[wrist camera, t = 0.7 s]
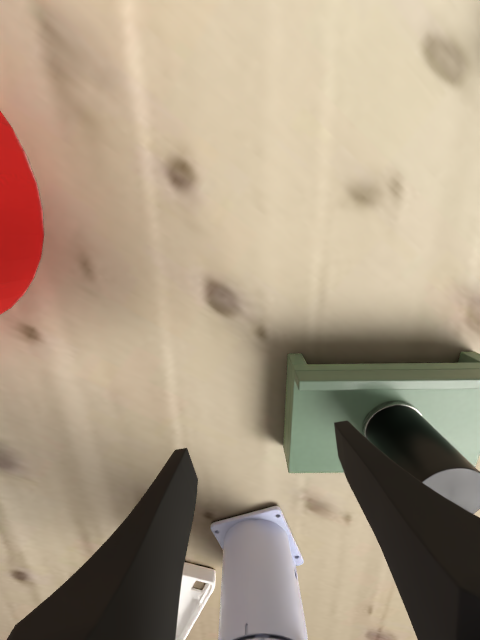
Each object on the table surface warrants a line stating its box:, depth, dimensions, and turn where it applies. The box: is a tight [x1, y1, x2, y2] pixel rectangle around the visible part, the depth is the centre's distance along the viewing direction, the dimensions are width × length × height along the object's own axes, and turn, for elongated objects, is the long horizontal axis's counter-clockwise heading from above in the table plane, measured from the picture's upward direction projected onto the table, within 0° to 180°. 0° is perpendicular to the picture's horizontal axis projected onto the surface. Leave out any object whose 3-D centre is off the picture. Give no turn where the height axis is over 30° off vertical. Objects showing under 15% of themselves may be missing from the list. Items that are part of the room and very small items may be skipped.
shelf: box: [283, 352, 480, 473], centre depth 21 cm, size 10×16×4 cm, turn 91°
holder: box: [362, 401, 480, 514], centre depth 17 cm, size 5×5×6 cm
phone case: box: [175, 562, 216, 640], centre depth 31 cm, size 7×1×15 cm
